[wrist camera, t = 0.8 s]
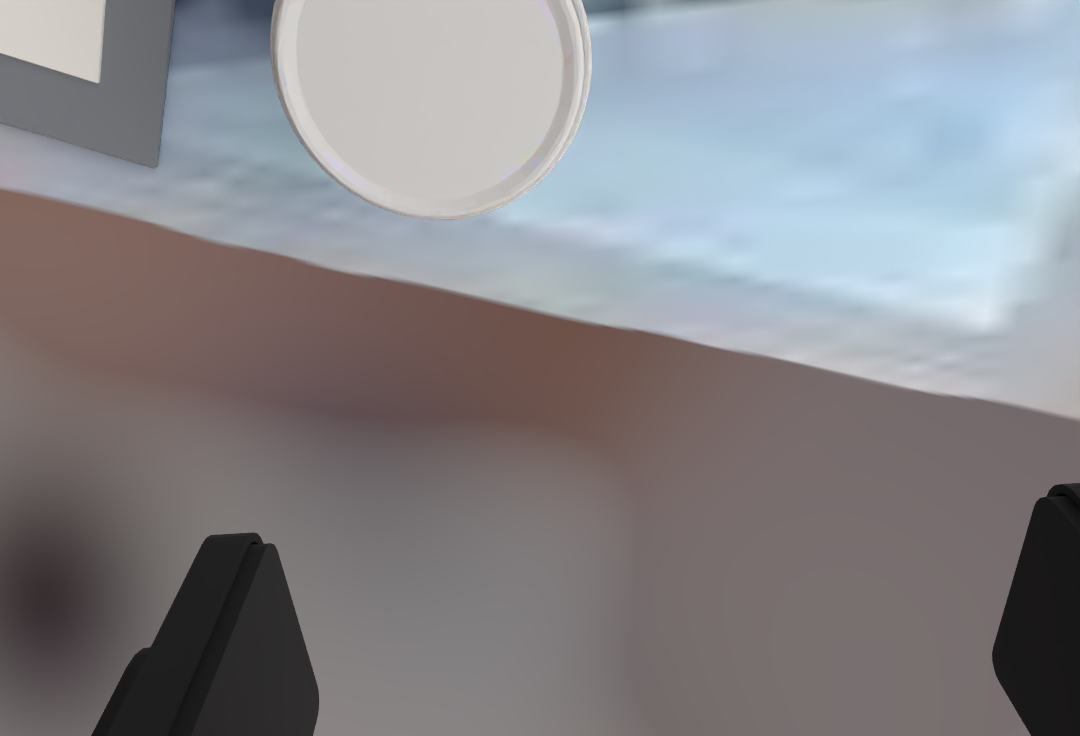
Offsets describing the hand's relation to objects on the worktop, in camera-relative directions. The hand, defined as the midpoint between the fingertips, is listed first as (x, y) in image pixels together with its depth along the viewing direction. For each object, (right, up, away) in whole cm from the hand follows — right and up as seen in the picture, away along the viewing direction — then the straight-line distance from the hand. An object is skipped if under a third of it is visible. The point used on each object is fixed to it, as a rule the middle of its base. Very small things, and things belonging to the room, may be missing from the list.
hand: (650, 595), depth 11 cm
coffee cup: (-5, +17, +24) cm, 30 cm away
